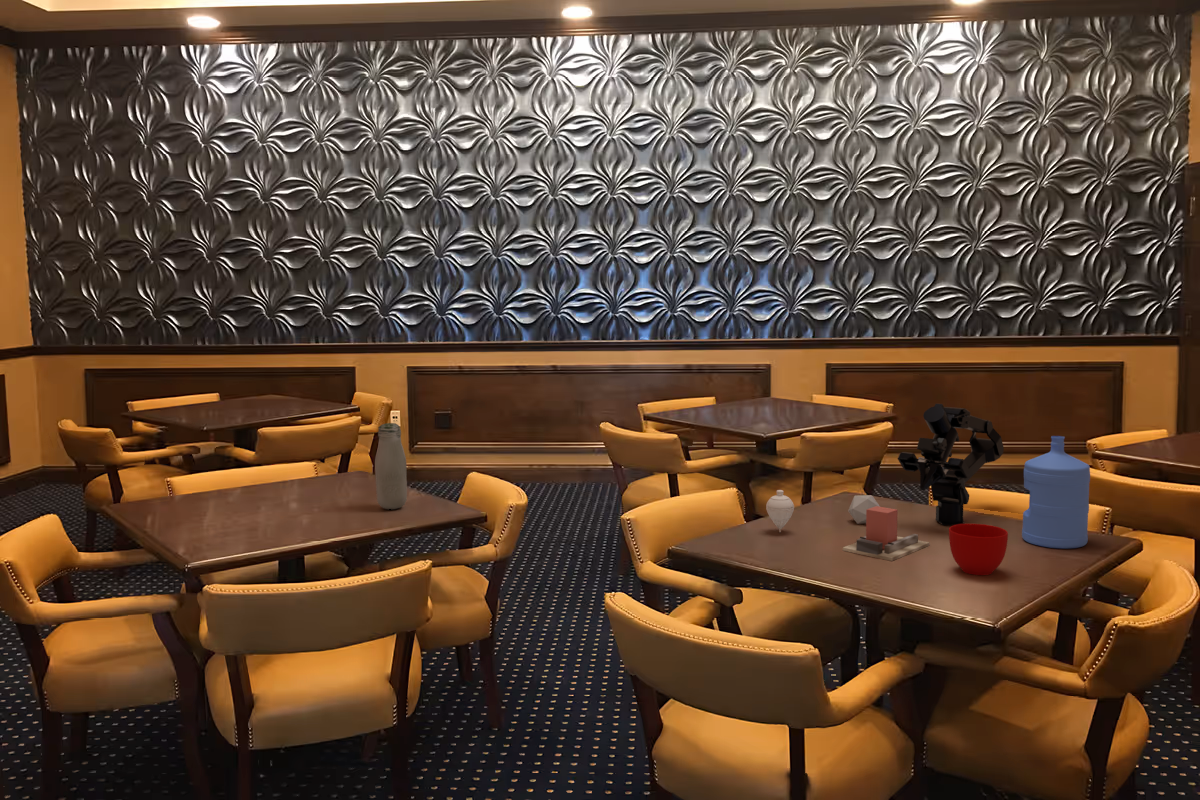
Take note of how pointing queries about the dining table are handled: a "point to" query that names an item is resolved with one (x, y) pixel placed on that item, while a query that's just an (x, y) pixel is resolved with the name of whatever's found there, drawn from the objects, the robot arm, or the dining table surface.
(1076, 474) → the water jug
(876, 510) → the pink upright block
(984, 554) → the ceramic cup
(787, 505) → the spinning top
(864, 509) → the die
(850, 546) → the press stand
